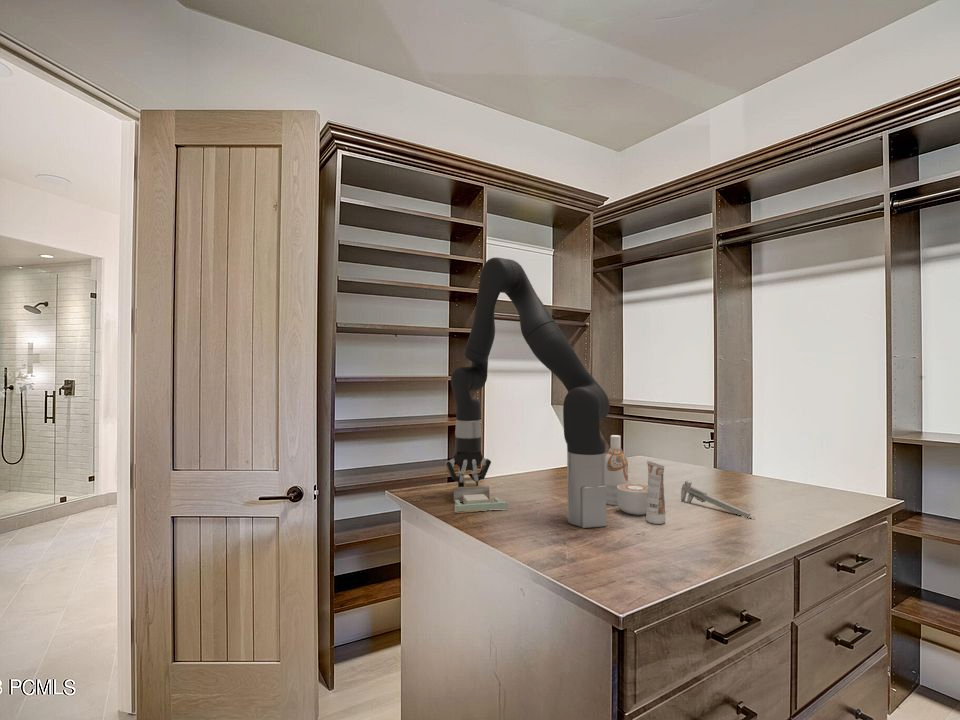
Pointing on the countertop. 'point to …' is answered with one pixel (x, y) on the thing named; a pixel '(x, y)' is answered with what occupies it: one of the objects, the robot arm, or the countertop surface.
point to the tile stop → (480, 505)
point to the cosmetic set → (634, 486)
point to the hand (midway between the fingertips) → (468, 494)
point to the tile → (475, 499)
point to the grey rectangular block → (470, 489)
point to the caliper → (708, 499)
